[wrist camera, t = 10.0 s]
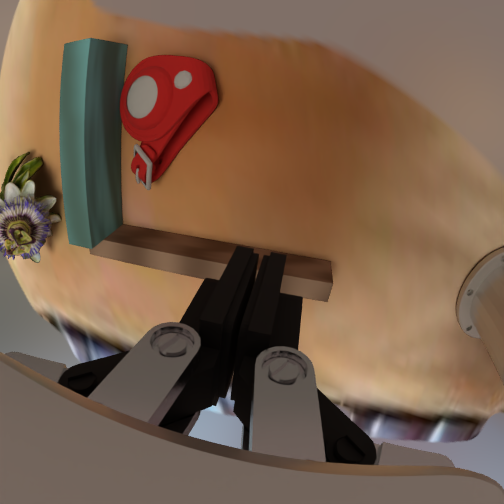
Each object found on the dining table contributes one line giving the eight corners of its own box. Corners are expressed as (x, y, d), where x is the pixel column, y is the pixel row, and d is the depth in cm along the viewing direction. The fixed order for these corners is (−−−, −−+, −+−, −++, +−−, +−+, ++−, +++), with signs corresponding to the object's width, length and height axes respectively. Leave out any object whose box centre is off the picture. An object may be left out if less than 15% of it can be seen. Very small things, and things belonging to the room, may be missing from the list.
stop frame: (370, 62, 21) (388, 51, 15) (325, 278, 31) (328, 315, 25) (103, 48, 23) (64, 43, 18) (102, 236, 33) (72, 261, 28)
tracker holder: (104, 77, 24) (184, 27, 19) (137, 81, 27) (214, 42, 23) (121, 196, 26) (210, 171, 21) (154, 190, 30) (239, 168, 25)
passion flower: (81, 200, 37) (50, 281, 32) (23, 188, 36) (-9, 261, 31) (60, 145, 27) (11, 242, 22) (-4, 138, 26) (-51, 222, 21)
